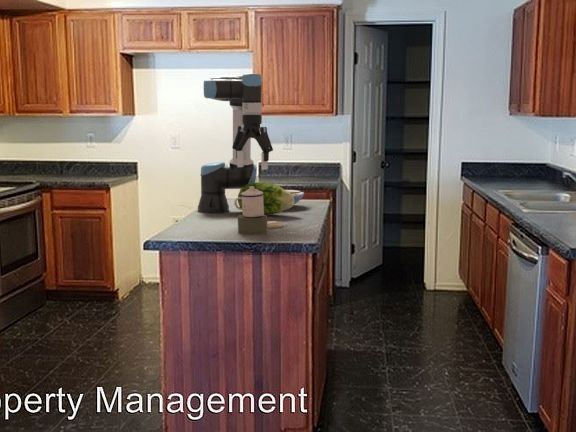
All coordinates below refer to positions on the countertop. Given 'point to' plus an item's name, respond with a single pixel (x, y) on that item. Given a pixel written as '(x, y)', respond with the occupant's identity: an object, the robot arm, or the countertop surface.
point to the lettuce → (271, 197)
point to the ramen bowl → (296, 195)
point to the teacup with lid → (251, 203)
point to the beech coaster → (274, 224)
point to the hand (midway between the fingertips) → (252, 168)
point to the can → (252, 225)
